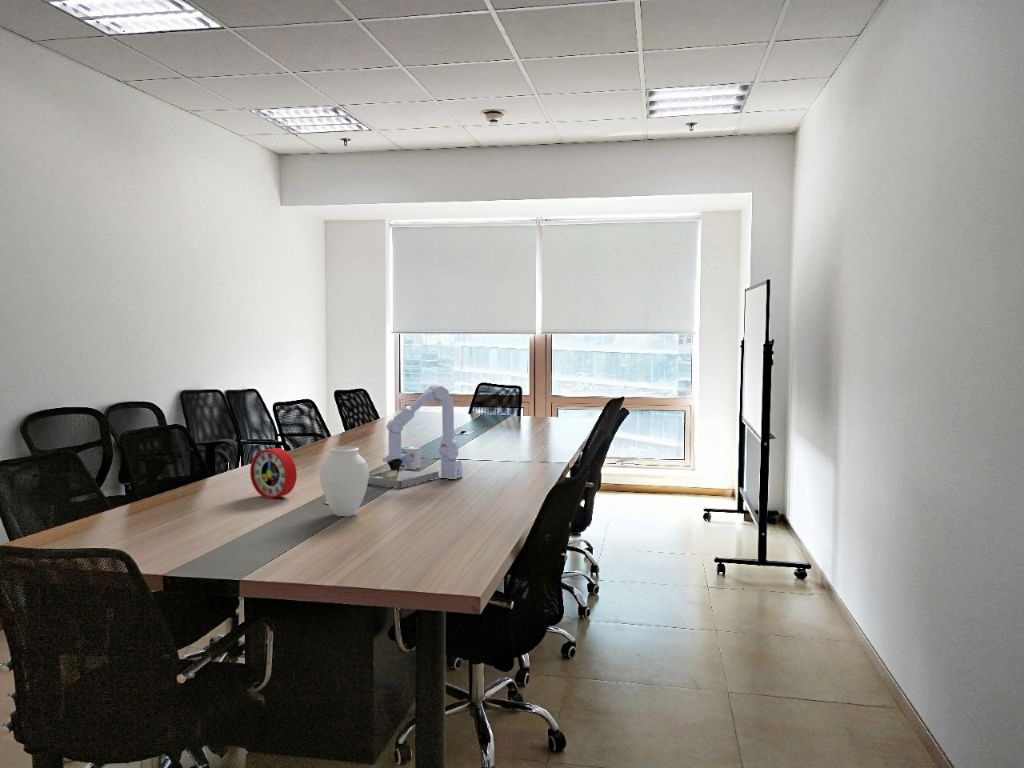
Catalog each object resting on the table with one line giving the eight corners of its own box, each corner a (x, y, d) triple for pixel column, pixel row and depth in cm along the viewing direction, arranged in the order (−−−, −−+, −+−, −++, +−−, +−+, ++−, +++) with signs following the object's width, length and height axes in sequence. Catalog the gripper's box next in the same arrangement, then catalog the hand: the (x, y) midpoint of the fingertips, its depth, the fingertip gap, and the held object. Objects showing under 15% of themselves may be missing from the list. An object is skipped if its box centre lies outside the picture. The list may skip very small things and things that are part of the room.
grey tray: (438, 478, 359) (438, 471, 359) (400, 488, 335) (400, 480, 335) (401, 474, 370) (401, 466, 370) (361, 483, 346) (361, 475, 346)
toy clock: (250, 496, 319) (249, 448, 318) (261, 493, 324) (260, 446, 323) (286, 501, 310) (285, 451, 308) (297, 498, 315) (296, 449, 313)
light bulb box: (395, 469, 384) (395, 447, 383) (401, 466, 390) (401, 445, 390) (415, 470, 381) (415, 448, 380) (420, 468, 387) (420, 446, 387)
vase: (321, 521, 276) (320, 452, 275) (319, 510, 293) (319, 445, 292) (371, 518, 281) (370, 450, 279) (367, 507, 298) (366, 443, 296)
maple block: (397, 479, 346) (397, 470, 346) (390, 481, 342) (389, 472, 342) (388, 478, 349) (388, 469, 349) (381, 479, 345) (381, 471, 344)
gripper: (398, 443, 356) (398, 472, 357) (377, 447, 344) (377, 477, 345) (410, 444, 353) (410, 474, 353) (389, 448, 340) (389, 479, 341)
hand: (395, 475), depth 349 cm, fingers closed
